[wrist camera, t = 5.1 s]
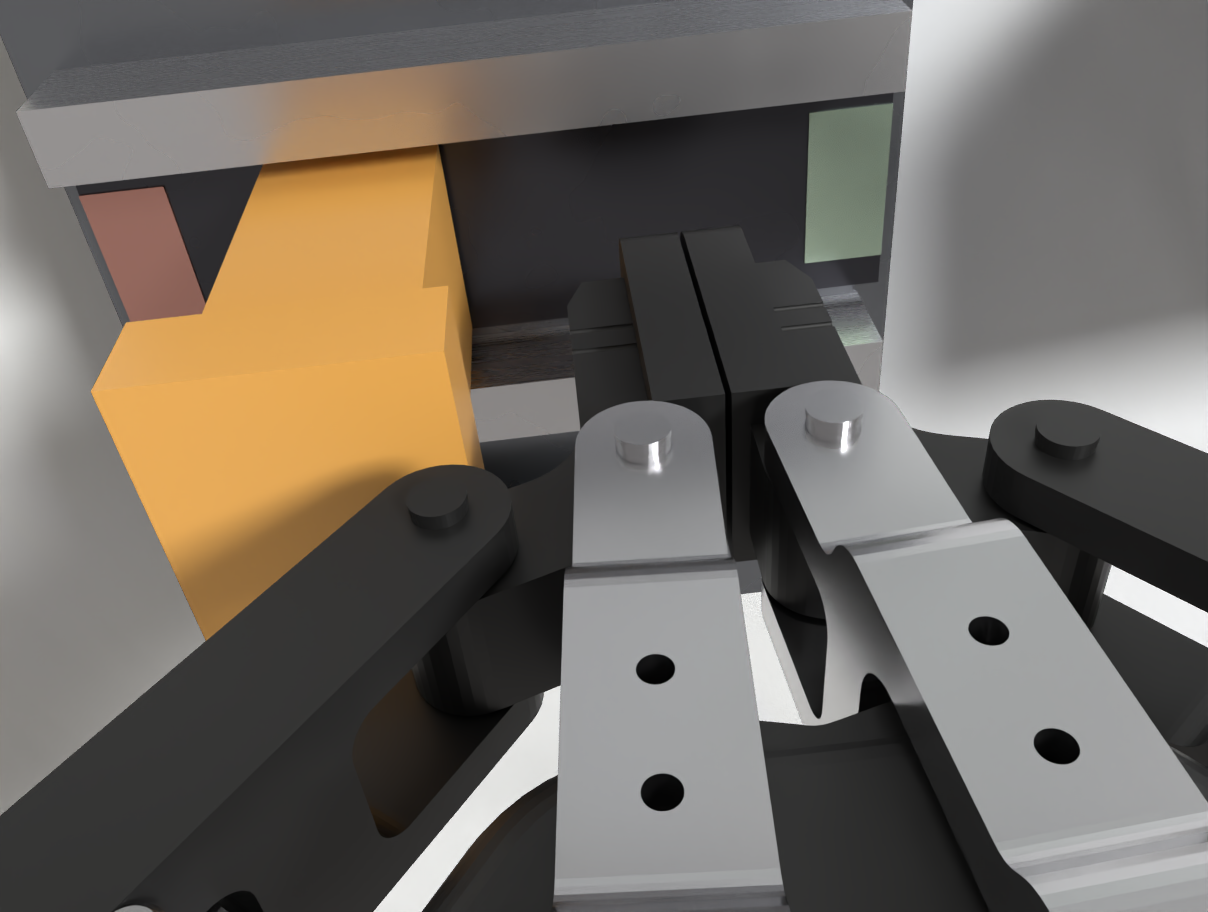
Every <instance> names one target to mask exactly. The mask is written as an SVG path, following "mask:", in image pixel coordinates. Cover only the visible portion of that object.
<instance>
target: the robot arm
mask: <svg viewBox="0 0 1208 912" xmlns="http://www.w3.org/2000/svg"><path fill="white" fill-rule="evenodd" d="M619 258H620V271H621V278H615V279H606V280H597V281H588V282H581V284H580V286H579V287H578V289H577V290H576V292H575V294H574V295H573V297H572V299H571V300H570V302H569V303H568V305H567V310H568V319H569V328H570V337H571V347H572V356H573V365H574V375H575V384H576V393H577V402H578V412H579V421H580V431H579V433H578V435H577V438H576V443H575V449H574V450H573V452H572V453H571V454H570V456H569V457H568V458H567V459H566V460H565V461H564V462H563V463H562V464H560V465H559V466H558V467H556V468H555V469H553V470H552V471H550V472H549V473H547V474H545V475H543V476H541V477H539V478H537V479H534V480H532V481H529V482H526V483H524V484H521V485H518V486H515V487H512V488H509V489H508V488H507V486H506V485H505V484H504V483H503V481H502V480H501V479H500V478H498V477H497V476H495V475H494V474H493V473H490V472H488V471H486V470H484V469H481V468H477V467H474V466H468V465H454V464H451V465H439V466H434V467H428V468H425V469H421V470H418V471H415V472H413V473H410V474H408V475H406V476H404V477H402V478H400V479H398V480H397V481H395V482H394V483H392V484H391V485H389V486H388V487H387V488H386V489H384V490H383V491H382V492H381V493H380V494H378V495H377V496H376V497H375V498H374V499H373V500H371V501H370V502H369V503H368V504H367V505H366V506H364V507H363V508H362V509H361V510H360V511H358V512H357V513H356V514H355V515H354V516H353V517H351V518H350V519H349V520H348V521H347V522H346V523H344V524H343V525H342V526H341V527H340V528H338V529H337V530H336V531H335V532H334V533H333V534H331V535H330V536H329V537H328V538H327V539H325V540H324V541H323V542H322V543H321V544H320V545H318V546H317V547H316V548H315V549H314V550H313V551H311V552H310V553H309V554H308V555H307V556H305V557H304V558H303V559H302V560H301V561H300V562H298V563H297V564H296V565H295V566H294V567H293V568H291V569H290V570H289V571H288V572H287V573H285V574H284V575H283V576H282V577H281V578H280V579H278V580H277V581H276V582H275V583H274V584H273V585H271V586H270V587H269V588H268V589H267V590H265V591H264V592H263V593H262V594H261V595H260V596H258V597H257V598H256V599H255V600H254V601H253V602H251V603H250V604H249V605H248V606H247V607H245V608H244V609H243V610H242V611H241V612H240V613H238V614H237V615H236V616H235V617H234V618H233V619H231V620H230V621H229V622H228V623H227V624H225V625H224V626H223V627H222V628H221V629H220V630H218V631H217V632H216V633H215V634H214V635H213V636H211V637H210V638H209V639H208V640H207V641H205V642H204V643H203V644H202V645H201V646H200V647H198V648H197V649H196V650H195V651H194V652H193V653H191V654H190V655H189V656H188V657H187V658H185V659H184V660H183V661H182V662H181V663H180V664H178V665H177V666H176V667H175V668H174V669H172V670H171V671H170V672H169V673H168V674H167V675H165V676H164V677H163V678H162V679H161V680H160V681H158V682H157V683H156V684H155V685H154V686H152V687H151V688H150V689H149V690H148V691H147V692H145V693H144V694H143V695H142V696H141V697H140V698H138V699H137V700H136V701H135V702H134V703H132V704H131V705H130V706H129V707H128V708H127V709H125V710H124V711H123V712H122V713H121V714H120V715H118V716H117V717H116V718H115V719H114V720H112V721H111V722H110V723H109V724H108V725H107V726H105V727H104V728H103V729H102V730H101V731H100V732H98V733H97V734H96V735H95V736H94V737H92V738H91V739H90V740H89V741H88V742H87V743H85V744H84V745H83V746H82V747H81V748H80V749H78V750H77V751H76V752H75V753H74V754H72V755H71V756H70V757H69V758H68V759H67V760H65V761H64V762H63V763H62V764H61V765H60V766H58V767H57V768H56V769H55V770H54V771H52V772H51V773H50V774H49V775H48V776H47V777H45V778H44V779H43V780H42V781H41V782H40V783H38V784H37V785H36V786H35V787H34V788H32V789H31V790H30V791H29V792H28V793H27V794H25V795H24V796H23V797H22V798H21V799H19V800H18V801H17V802H16V803H15V804H14V805H12V806H11V807H10V808H9V809H8V810H7V811H5V812H4V813H3V814H2V815H1V816H0V912H373V911H374V910H375V909H376V908H377V906H378V905H379V904H380V903H381V902H382V900H383V899H384V898H385V897H386V896H387V894H388V893H389V892H390V891H391V890H392V888H393V887H394V886H395V885H396V884H397V882H398V881H399V880H400V879H401V878H402V876H403V875H404V874H405V873H406V872H407V870H408V869H409V868H410V867H411V866H412V864H413V863H414V862H415V861H416V860H417V859H418V857H419V856H420V855H421V854H422V853H423V851H424V850H425V849H426V848H427V847H428V845H429V844H430V843H431V842H432V841H433V839H434V838H435V837H436V836H437V835H438V833H439V832H440V831H441V830H442V829H443V827H444V826H445V825H446V824H447V823H448V821H449V820H450V819H451V818H452V817H453V815H454V814H455V813H456V812H457V811H458V809H459V808H460V807H461V806H462V805H463V803H464V802H465V801H466V800H467V799H468V797H469V796H470V795H471V794H472V793H473V791H474V790H475V789H476V788H477V787H478V785H479V784H480V783H481V782H482V781H483V779H484V778H485V777H486V776H487V775H488V773H489V772H490V771H491V770H492V769H493V767H494V766H495V765H496V764H497V763H498V761H499V760H500V759H501V758H502V757H503V755H504V754H505V753H506V752H507V751H508V749H509V748H510V747H511V746H512V745H513V744H514V742H515V741H516V740H517V739H518V738H519V736H520V735H521V734H522V733H523V732H524V730H525V729H526V728H527V727H528V726H529V724H530V723H531V722H532V721H533V719H534V718H535V716H536V715H537V713H538V711H539V709H540V707H541V705H542V701H543V696H544V692H545V691H548V690H550V689H552V688H555V687H557V686H560V685H561V694H560V727H559V759H558V775H557V776H555V777H553V778H551V779H549V780H547V781H545V782H544V783H542V784H540V785H539V786H537V787H536V788H534V789H533V790H531V791H530V792H528V793H526V794H525V795H523V796H522V797H521V798H520V799H518V800H517V801H516V802H515V803H514V804H512V805H511V806H510V807H509V808H507V809H506V810H505V811H504V812H502V813H501V814H500V815H499V816H498V817H497V818H496V819H495V820H494V821H493V822H492V823H491V824H490V825H489V827H488V828H487V829H486V830H485V831H484V832H483V833H482V834H481V835H480V836H479V837H478V838H477V839H476V841H475V842H474V843H473V844H472V846H471V847H470V848H469V849H468V851H467V852H466V853H465V855H464V856H463V857H462V859H461V860H460V861H459V863H458V864H457V865H456V867H455V868H454V869H453V871H452V872H451V873H450V875H449V876H448V877H447V879H446V880H445V881H444V883H443V884H442V885H441V887H440V888H439V889H438V891H437V892H436V893H435V895H434V896H433V897H432V899H431V900H430V901H429V903H428V904H427V905H426V907H425V908H424V909H423V911H422V912H1208V648H1207V647H1205V646H1203V645H1201V644H1199V643H1198V642H1196V641H1194V640H1192V639H1190V638H1188V637H1186V636H1184V635H1182V634H1180V633H1178V632H1176V631H1174V630H1172V629H1170V628H1169V627H1167V626H1165V625H1163V624H1161V623H1159V622H1157V621H1155V620H1153V619H1151V618H1149V617H1147V616H1145V615H1143V614H1141V613H1140V612H1138V611H1136V610H1134V609H1132V608H1130V607H1128V606H1126V605H1124V604H1122V603H1120V602H1118V601H1116V600H1114V599H1113V598H1111V597H1109V596H1107V595H1105V594H1103V592H1104V589H1105V585H1106V582H1107V579H1108V575H1109V572H1110V569H1111V565H1113V566H1115V567H1117V568H1119V569H1121V570H1123V571H1125V572H1127V573H1129V574H1131V575H1133V576H1135V577H1137V578H1139V579H1141V580H1143V581H1145V582H1147V583H1149V584H1151V585H1153V586H1155V587H1157V588H1159V589H1161V590H1163V591H1165V592H1167V593H1169V594H1171V595H1173V596H1175V597H1177V598H1179V599H1181V600H1183V601H1186V602H1188V603H1190V604H1192V605H1194V606H1196V607H1198V608H1200V609H1202V610H1204V611H1206V612H1208V453H1205V452H1203V451H1200V450H1198V449H1195V448H1193V447H1191V446H1188V445H1186V444H1183V443H1181V442H1178V441H1176V440H1174V439H1171V438H1169V437H1166V436H1164V435H1161V434H1159V433H1157V432H1154V431H1152V430H1149V429H1147V428H1144V427H1142V426H1139V425H1137V424H1135V423H1132V422H1130V421H1127V420H1125V419H1122V418H1120V417H1118V416H1115V415H1113V414H1110V413H1108V412H1105V411H1103V410H1100V409H1098V408H1095V407H1092V406H1089V405H1085V404H1081V403H1077V402H1070V401H1062V400H1038V401H1031V402H1026V403H1022V404H1019V405H1016V406H1014V407H1011V408H1009V409H1007V410H1006V411H1004V412H1003V413H1001V414H1000V415H999V416H998V417H997V418H996V419H995V420H994V422H993V424H992V426H991V429H990V434H989V439H982V438H972V437H962V436H952V435H943V434H936V433H930V432H925V431H921V430H917V429H914V428H911V427H910V425H909V423H908V422H907V420H906V419H905V417H904V416H903V414H902V412H901V411H900V409H899V408H898V407H897V406H896V404H895V403H894V402H893V401H892V400H890V399H889V398H888V397H887V396H885V395H884V394H882V393H880V392H879V391H876V390H874V389H872V388H870V387H867V386H863V385H862V383H861V381H860V379H859V377H858V375H857V373H856V371H855V369H854V366H853V364H852V362H851V360H850V358H849V356H848V354H847V352H846V349H845V347H844V345H843V343H842V341H841V339H840V337H839V335H838V332H837V330H836V328H835V326H832V320H831V318H830V316H829V313H828V311H827V309H826V307H823V301H822V299H821V296H820V294H819V292H818V290H817V288H816V286H815V284H814V282H813V280H812V278H811V277H809V276H808V275H806V274H805V273H803V272H802V271H801V270H799V269H798V268H796V267H795V266H794V265H792V264H791V263H789V262H788V261H787V260H779V261H769V262H760V263H755V261H754V258H753V256H752V253H751V251H750V248H749V246H748V243H747V241H746V238H745V236H744V233H743V231H742V229H741V227H740V225H736V226H727V227H717V228H708V229H699V230H690V231H681V233H680V239H679V236H678V233H677V232H673V233H664V234H655V235H645V236H636V237H627V238H619ZM727 542H728V546H729V550H730V554H731V557H729V556H728V549H727ZM750 560H757V561H758V565H759V568H760V572H761V575H762V592H761V612H762V616H763V619H764V622H765V625H766V627H767V630H768V633H769V635H770V638H771V641H772V643H773V646H774V649H775V651H776V654H777V657H778V660H779V662H780V665H781V668H782V670H783V673H784V676H785V678H786V681H787V684H788V686H789V689H790V692H791V694H792V697H793V700H794V702H795V705H796V708H797V710H798V713H799V716H800V719H801V721H802V724H803V725H798V724H788V723H777V722H767V721H759V718H758V711H757V704H756V697H755V690H754V683H753V676H752V669H751V662H750V655H749V649H748V642H747V635H746V628H745V621H744V614H743V607H742V600H741V593H740V586H739V579H738V573H737V567H736V562H741V561H750Z"/></svg>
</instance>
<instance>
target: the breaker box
mask: <svg viewBox="0 0 1208 912" xmlns="http://www.w3.org/2000/svg"><path fill="white" fill-rule="evenodd" d="M912 8H913V0H0V35H1V38H2V40H3V42H4V45H5V47H6V50H7V52H8V54H9V57H10V59H11V61H12V64H13V66H14V69H15V71H16V73H17V76H18V78H19V80H20V83H21V85H22V88H23V90H24V92H25V95H26V97H27V100H26V101H25V102H24V104H23V105H22V106H21V107H20V108H19V109H18V110H17V111H16V114H17V116H18V118H19V121H20V123H21V125H22V128H23V130H24V132H25V135H26V137H27V139H28V142H29V144H30V146H31V149H32V151H33V153H34V156H35V158H36V160H37V163H38V165H39V167H40V170H41V172H42V174H43V177H44V179H45V181H46V184H47V186H48V188H58V187H65V190H66V192H67V195H68V197H69V199H70V202H71V204H72V206H73V209H74V211H75V214H76V216H77V218H78V221H79V223H80V226H81V228H82V230H83V233H84V235H85V237H86V240H87V242H88V245H89V247H90V249H91V252H92V254H93V256H94V259H95V261H96V264H97V266H98V268H99V271H100V273H101V275H102V278H103V280H104V283H105V285H106V287H107V290H108V292H109V294H110V297H111V299H112V302H113V304H114V306H115V309H116V311H117V314H118V316H119V318H120V321H121V323H122V325H123V327H124V326H125V324H126V322H135V321H144V320H153V319H161V318H170V317H179V316H187V315H196V314H202V312H203V310H204V307H205V305H206V302H207V300H208V298H209V295H210V293H211V290H212V288H213V285H214V283H215V280H216V278H217V276H218V273H219V271H220V268H221V266H222V263H223V261H224V259H225V256H226V254H227V251H228V249H229V246H230V244H231V241H232V239H233V237H234V234H235V232H236V229H237V227H238V224H239V222H240V220H241V217H242V215H243V212H244V210H245V207H246V205H247V202H248V200H249V198H250V195H251V193H252V190H253V188H254V185H255V183H256V181H257V178H258V176H259V173H260V171H261V168H262V166H263V164H270V163H278V162H287V161H296V160H305V159H314V158H322V157H331V156H340V155H349V154H358V153H366V152H375V151H384V150H393V149H402V148H411V147H419V146H428V145H437V144H438V146H439V152H440V157H441V162H442V168H443V173H444V178H445V184H446V189H447V194H448V200H449V205H450V210H451V216H452V221H453V226H454V232H455V237H456V242H457V248H458V253H459V258H460V264H461V269H462V274H463V280H464V285H465V290H466V296H467V301H468V306H469V312H470V317H471V322H472V360H471V394H470V398H471V403H472V408H473V413H474V418H475V423H476V428H477V433H478V438H479V443H480V448H481V453H482V458H483V463H484V469H485V470H486V471H488V472H490V473H493V474H494V475H495V476H497V477H498V478H500V479H501V480H502V481H503V483H504V484H505V485H506V486H507V488H508V489H509V488H512V487H515V486H518V485H521V484H524V483H526V482H529V481H532V480H534V479H537V478H539V477H541V476H543V475H545V474H547V473H549V472H550V471H552V470H553V469H555V468H556V467H558V466H559V465H560V464H562V463H563V462H564V461H565V460H566V459H567V458H568V457H569V456H570V454H571V453H572V452H573V450H574V449H575V443H576V438H577V435H578V433H579V431H580V421H579V412H578V402H577V393H576V384H575V375H574V365H573V356H572V347H571V337H570V328H569V319H568V310H567V305H568V303H569V302H570V300H571V299H572V297H573V295H574V294H575V292H576V290H577V289H578V287H579V286H580V284H581V282H588V281H597V280H606V279H615V278H621V271H620V258H619V238H627V237H636V236H645V235H655V234H664V233H673V232H677V233H678V236H679V239H680V233H681V231H690V230H699V229H708V228H717V227H727V226H736V225H740V227H741V229H742V231H743V233H744V236H745V238H746V241H747V243H748V246H749V248H750V251H751V253H752V256H753V258H754V261H755V263H760V262H769V261H779V260H787V261H788V262H789V263H791V264H792V265H794V266H795V267H796V268H798V269H799V270H801V271H802V272H803V273H805V274H806V275H808V276H809V277H811V278H812V280H813V282H814V284H815V286H816V288H817V290H818V292H819V294H820V296H821V299H822V301H823V307H826V309H827V311H828V313H829V316H830V318H831V320H832V326H835V328H836V330H837V332H838V335H839V337H840V339H841V341H842V343H843V345H844V347H845V349H846V352H847V354H848V356H849V358H850V360H851V362H852V364H853V366H854V369H855V371H856V373H857V375H858V377H859V379H860V381H861V383H862V385H863V386H867V387H870V388H872V389H874V390H876V391H879V385H880V373H881V362H882V350H883V339H884V328H885V316H886V305H887V293H888V282H889V271H890V259H891V248H892V236H893V225H894V214H895V202H896V191H897V179H898V168H899V157H900V145H901V134H902V122H903V111H904V100H905V88H906V77H907V65H908V54H909V43H910V31H911V20H912ZM727 549H728V556H729V557H731V554H730V550H729V546H728V545H727ZM736 567H737V573H738V579H739V586H740V593H741V594H746V593H754V592H762V575H761V572H760V568H759V565H758V561H757V560H750V561H741V562H736Z"/></svg>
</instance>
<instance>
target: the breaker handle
mask: <svg viewBox="0 0 1208 912" xmlns="http://www.w3.org/2000/svg"><path fill="white" fill-rule="evenodd" d="M471 360H472V322H471V317H470V312H469V306H468V301H467V296H466V290H465V285H464V280H463V274H462V269H461V264H460V258H459V253H458V248H457V242H456V237H455V232H454V226H453V221H452V216H451V210H450V205H449V200H448V194H447V189H446V184H445V178H444V173H443V168H442V162H441V157H440V152H439V146H438V144H437V145H428V146H419V147H411V148H402V149H393V150H384V151H375V152H366V153H358V154H349V155H340V156H331V157H322V158H314V159H305V160H296V161H287V162H278V163H270V164H263V166H262V168H261V171H260V173H259V176H258V178H257V181H256V183H255V185H254V188H253V190H252V193H251V195H250V198H249V200H248V202H247V205H246V207H245V210H244V212H243V215H242V217H241V220H240V222H239V224H238V227H237V229H236V232H235V234H234V237H233V239H232V241H231V244H230V246H229V249H228V251H227V254H226V256H225V259H224V261H223V263H222V266H221V268H220V271H219V273H218V276H217V278H216V280H215V283H214V285H213V288H212V290H211V293H210V295H209V298H208V300H207V302H206V305H205V307H204V310H203V312H202V314H196V315H187V316H179V317H170V318H161V319H153V320H144V321H135V322H126V324H125V326H124V327H123V329H122V331H121V333H120V335H119V337H118V339H117V341H116V343H115V345H114V347H113V349H112V351H111V353H110V355H109V357H108V359H107V361H106V363H105V365H104V367H103V369H102V371H101V373H100V375H99V376H98V378H97V380H96V382H95V384H94V386H93V388H92V390H91V393H92V395H93V398H94V400H95V402H96V404H97V406H98V408H99V411H100V413H101V415H102V417H103V419H104V421H105V424H106V426H107V428H108V430H109V432H110V434H111V437H112V439H113V441H114V443H115V445H116V447H117V450H118V452H119V454H120V456H121V458H122V460H123V463H124V465H125V467H126V469H127V471H128V473H129V476H130V478H131V480H132V482H133V484H134V486H135V489H136V491H137V493H138V495H139V497H140V499H141V502H142V504H143V506H144V508H145V510H146V512H147V515H148V517H149V519H150V521H151V523H152V525H153V528H154V530H155V532H156V534H157V536H158V538H159V541H160V543H161V545H162V547H163V549H164V551H165V553H166V556H167V558H168V560H169V562H170V564H171V566H172V569H173V571H174V573H175V575H176V577H177V579H178V582H179V584H180V586H181V588H182V590H183V592H184V595H185V597H186V599H187V601H188V603H189V605H190V608H191V610H192V612H193V614H194V616H195V618H196V621H197V623H198V625H199V627H200V629H201V631H202V634H203V636H204V638H205V640H206V641H207V640H208V639H209V638H210V637H211V636H213V635H214V634H215V633H216V632H217V631H218V630H220V629H221V628H222V627H223V626H224V625H225V624H227V623H228V622H229V621H230V620H231V619H233V618H234V617H235V616H236V615H237V614H238V613H240V612H241V611H242V610H243V609H244V608H245V607H247V606H248V605H249V604H250V603H251V602H253V601H254V600H255V599H256V598H257V597H258V596H260V595H261V594H262V593H263V592H264V591H265V590H267V589H268V588H269V587H270V586H271V585H273V584H274V583H275V582H276V581H277V580H278V579H280V578H281V577H282V576H283V575H284V574H285V573H287V572H288V571H289V570H290V569H291V568H293V567H294V566H295V565H296V564H297V563H298V562H300V561H301V560H302V559H303V558H304V557H305V556H307V555H308V554H309V553H310V552H311V551H313V550H314V549H315V548H316V547H317V546H318V545H320V544H321V543H322V542H323V541H324V540H325V539H327V538H328V537H329V536H330V535H331V534H333V533H334V532H335V531H336V530H337V529H338V528H340V527H341V526H342V525H343V524H344V523H346V522H347V521H348V520H349V519H350V518H351V517H353V516H354V515H355V514H356V513H357V512H358V511H360V510H361V509H362V508H363V507H364V506H366V505H367V504H368V503H369V502H370V501H371V500H373V499H374V498H375V497H376V496H377V495H378V494H380V493H381V492H382V491H383V490H384V489H386V488H387V487H388V486H389V485H391V484H392V483H394V482H395V481H397V480H398V479H400V478H402V477H404V476H406V475H408V474H410V473H413V472H415V471H418V470H421V469H425V468H428V467H434V466H439V465H451V464H454V465H468V466H474V467H477V468H481V469H484V463H483V458H482V453H481V448H480V443H479V438H478V433H477V428H476V423H475V418H474V413H473V408H472V403H471V398H470V394H471ZM484 470H485V469H484Z"/></svg>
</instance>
